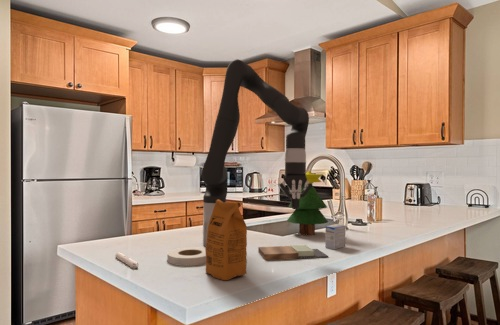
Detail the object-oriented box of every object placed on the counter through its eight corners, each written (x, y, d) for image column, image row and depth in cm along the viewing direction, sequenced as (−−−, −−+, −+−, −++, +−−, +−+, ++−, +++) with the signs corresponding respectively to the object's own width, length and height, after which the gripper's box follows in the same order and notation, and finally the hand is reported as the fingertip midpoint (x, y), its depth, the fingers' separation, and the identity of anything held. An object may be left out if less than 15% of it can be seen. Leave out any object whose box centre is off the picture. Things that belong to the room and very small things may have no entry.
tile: (297, 256, 127) (297, 251, 127) (290, 250, 135) (290, 245, 135) (313, 255, 128) (313, 250, 128) (305, 249, 136) (305, 245, 136)
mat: (295, 258, 125) (295, 257, 125) (286, 251, 136) (286, 250, 136) (328, 257, 127) (328, 256, 127) (317, 250, 138) (317, 248, 138)
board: (264, 260, 123) (264, 254, 123) (258, 252, 134) (258, 247, 134) (298, 258, 125) (298, 253, 125) (289, 251, 136) (289, 245, 136)
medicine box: (336, 244, 147) (336, 223, 147) (345, 246, 144) (345, 225, 144) (325, 248, 142) (325, 226, 142) (334, 250, 139) (335, 227, 139)
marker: (140, 269, 113) (140, 262, 113) (134, 270, 112) (134, 263, 112) (121, 257, 127) (121, 251, 127) (115, 258, 126) (115, 251, 126)
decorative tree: (278, 232, 172) (278, 170, 173) (307, 228, 184) (307, 170, 184) (307, 239, 157) (307, 171, 157) (336, 235, 168) (336, 170, 168)
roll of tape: (177, 269, 114) (177, 260, 114) (161, 258, 127) (161, 250, 127) (220, 262, 122) (220, 253, 122) (201, 252, 135) (201, 245, 135)
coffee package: (228, 266, 115) (228, 198, 115) (251, 276, 105) (251, 201, 105) (200, 272, 109) (200, 199, 109) (222, 283, 99) (222, 203, 99)
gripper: (280, 161, 126) (280, 210, 126) (316, 161, 128) (316, 210, 128) (275, 161, 133) (274, 208, 133) (309, 161, 136) (308, 207, 136)
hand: (295, 208), depth 131 cm, fingers closed
